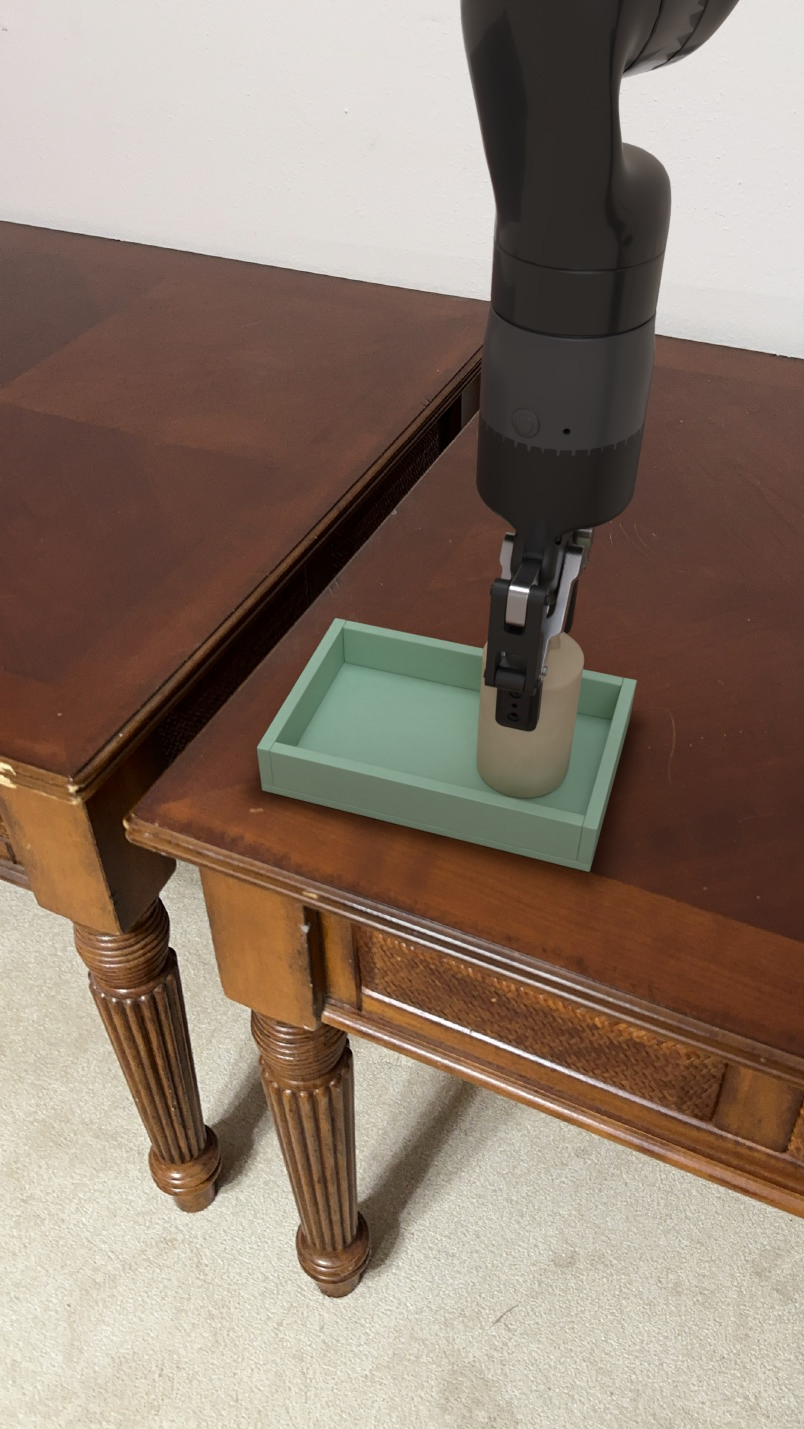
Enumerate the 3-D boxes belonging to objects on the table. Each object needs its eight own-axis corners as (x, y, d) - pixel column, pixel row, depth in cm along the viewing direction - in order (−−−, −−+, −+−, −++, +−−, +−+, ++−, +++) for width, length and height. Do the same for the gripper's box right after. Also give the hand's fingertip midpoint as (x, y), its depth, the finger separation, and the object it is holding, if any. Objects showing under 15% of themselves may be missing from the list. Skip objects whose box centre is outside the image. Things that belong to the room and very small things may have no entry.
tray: (628, 722, 69) (637, 679, 67) (589, 872, 60) (597, 829, 58) (337, 659, 74) (335, 617, 71) (261, 790, 65) (256, 747, 63)
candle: (572, 799, 64) (592, 668, 57) (477, 799, 64) (486, 668, 57) (563, 733, 68) (581, 603, 61) (474, 733, 68) (481, 603, 61)
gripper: (617, 496, 44) (575, 778, 55) (669, 347, 54) (625, 612, 65) (437, 466, 46) (432, 745, 57) (519, 327, 55) (502, 588, 67)
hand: (535, 674), depth 61 cm, fingers open, 8 cm apart
